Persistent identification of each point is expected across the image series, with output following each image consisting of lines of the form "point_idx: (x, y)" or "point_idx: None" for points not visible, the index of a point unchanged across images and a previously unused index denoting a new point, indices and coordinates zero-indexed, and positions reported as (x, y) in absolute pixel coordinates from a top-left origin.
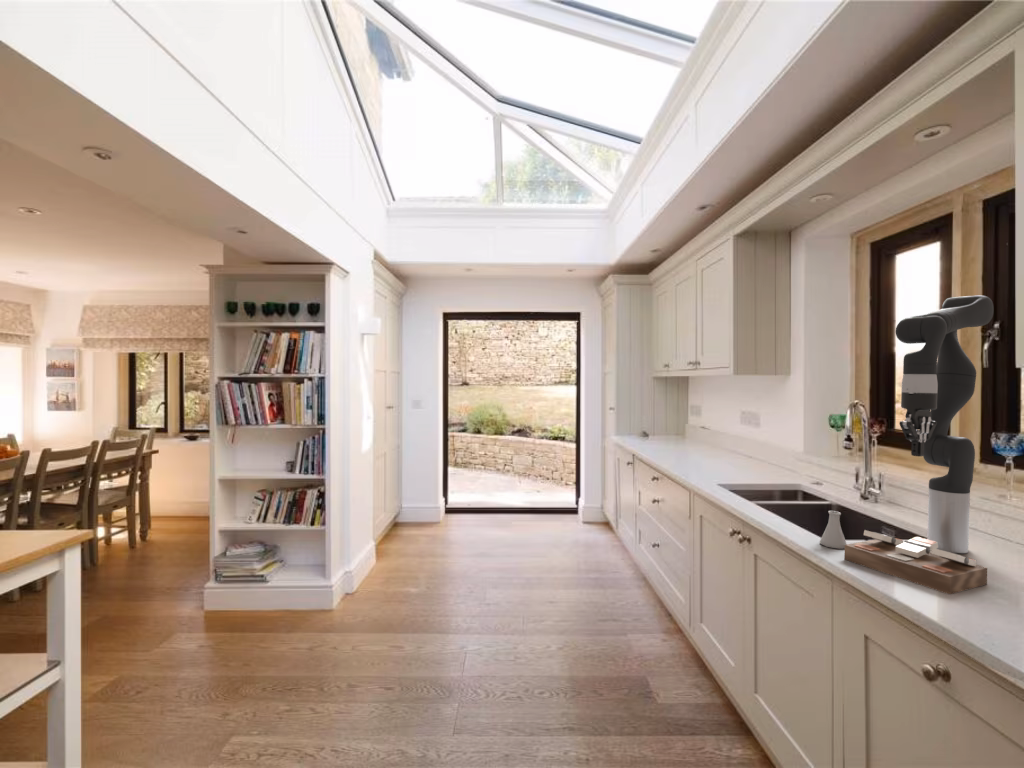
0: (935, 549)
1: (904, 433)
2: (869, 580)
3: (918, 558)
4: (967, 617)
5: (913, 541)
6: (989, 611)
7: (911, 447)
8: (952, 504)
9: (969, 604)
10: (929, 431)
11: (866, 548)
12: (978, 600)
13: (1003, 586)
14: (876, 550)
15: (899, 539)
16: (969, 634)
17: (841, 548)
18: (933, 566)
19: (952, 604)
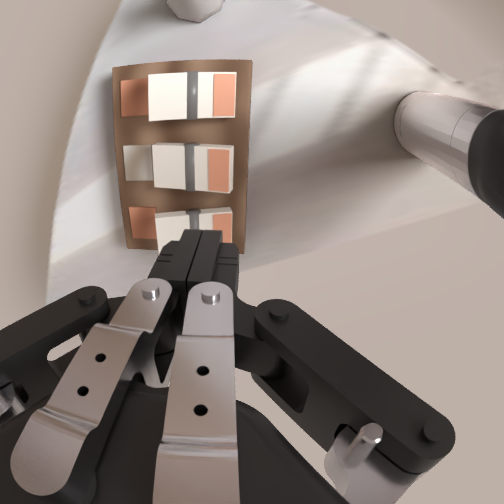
0: (155, 222)
1: (29, 321)
2: (73, 157)
3: None
4: (88, 274)
5: (200, 156)
6: (131, 279)
7: (174, 252)
8: (451, 168)
9: (128, 260)
10: (291, 414)
11: (123, 104)
12: (155, 260)
13: (261, 253)
14: (138, 115)
15: (220, 115)
16: (56, 289)
17: (185, 18)
18: (144, 217)
19: (106, 252)
